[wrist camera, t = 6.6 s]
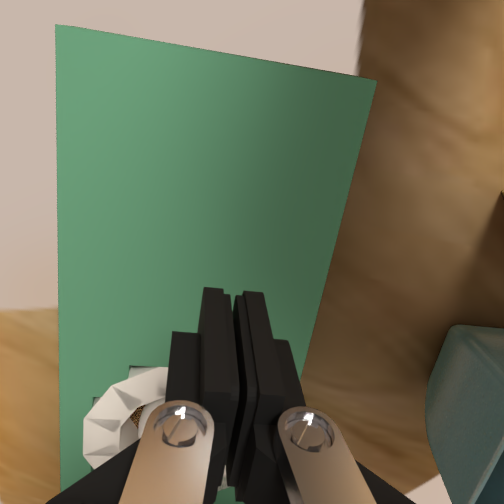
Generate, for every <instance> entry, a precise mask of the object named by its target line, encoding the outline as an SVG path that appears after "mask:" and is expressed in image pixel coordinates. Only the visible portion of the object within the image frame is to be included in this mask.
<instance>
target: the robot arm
mask: <svg viewBox="0 0 504 504" xmlns="http://www.w3.org/2000/svg"><path fill="white" fill-rule="evenodd" d="M225 465H226V481H227V486H228V487H235V502H244V503H245V504H416V503H414V502H413V501H411V500H410V499H408V498H407V497H406V496H404V495H403V494H402V493H400V492H399V491H398V490H396V489H395V488H393V487H392V486H391V485H389V484H388V483H386V482H385V481H384V480H382V479H381V478H380V477H378V476H377V475H375V474H374V473H373V472H371V471H370V470H368V469H367V468H366V467H364V466H363V465H361V464H360V463H359V462H357V461H356V460H355V459H354V458H353V456H352V454H351V452H350V450H349V448H348V446H347V444H346V442H345V440H344V438H343V436H342V434H341V432H340V430H339V428H338V427H337V425H336V424H335V422H334V421H333V420H332V419H331V418H330V417H329V416H327V415H326V414H325V413H323V412H321V411H319V410H317V409H314V408H310V407H306V404H305V400H304V396H303V393H302V389H301V385H300V381H299V377H298V374H297V370H296V366H295V362H294V358H293V355H292V351H291V347H290V344H289V341H288V340H283V339H273V334H272V330H271V325H270V320H269V316H268V311H267V307H266V302H265V297H264V294H263V292H255V291H243V293H242V295H236V296H235V300H234V305H233V311H232V304H231V295H230V294H224V290H223V288H212V287H204V288H203V294H202V301H201V309H200V316H199V323H198V330H197V333H191V332H178V331H172V337H171V346H170V356H169V365H168V374H167V384H166V394H165V403H164V404H161V405H159V406H158V407H157V408H155V409H154V410H153V411H152V412H151V414H150V415H149V417H148V419H147V421H146V424H145V427H144V430H143V433H142V436H141V438H140V439H138V440H137V441H135V442H134V443H133V444H131V445H130V446H128V447H127V448H125V449H124V450H122V451H121V452H119V453H118V454H116V455H115V456H114V457H112V458H111V459H109V460H108V461H106V462H105V463H103V464H102V465H100V466H99V467H97V468H96V469H95V470H93V471H92V472H90V473H89V474H87V475H86V476H84V477H83V478H81V479H80V480H78V481H77V482H76V483H74V484H73V485H71V486H70V487H68V488H67V489H65V490H64V491H62V492H61V493H59V494H58V495H57V496H55V497H54V498H52V499H51V500H49V501H48V502H47V503H46V504H213V503H214V502H215V501H216V496H217V491H218V487H219V486H221V484H222V479H223V474H224V469H225Z"/></svg>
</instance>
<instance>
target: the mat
mask: <svg viewBox="0 0 504 504" xmlns="http://www.w3.org/2000/svg"><path fill="white" fill-rule="evenodd" d="M55 37H56V39H55V40H56V124H57V125H56V130H57V217H58V218H57V219H58V308H59V397H60V486H61V492H62V491H64V490H65V489H67V488H68V487H70V486H71V485H73V484H74V483H76V482H77V481H78V480H80V479H81V478H83V477H84V476H86V475H87V474H89V473H90V472H92V471H93V470H95V469H96V468H97V467H99V466H100V465H102V464H103V463H105V462H106V461H108V460H109V459H111V458H112V457H114V456H115V455H116V454H118V453H119V452H121V451H122V450H124V449H125V448H127V447H128V446H130V445H131V444H133V443H134V442H135V441H137V440H138V439H139V436H138V428H137V427H136V425H135V424H134V423H133V421H132V420H131V418H130V415H131V414H132V413H133V412H134V411H135V410H136V409H137V407H140V406H142V405H145V404H148V403H150V402H153V401H156V400H158V399H161V398H163V397H165V394H166V384H167V374H168V365H169V356H170V346H171V337H172V331H178V332H191V333H197V330H198V323H199V316H200V309H201V301H202V294H203V288H204V287H212V288H223V290H224V294H230V295H231V304H232V311H233V305H234V300H235V296H236V295H242V293H243V291H255V292H263V294H264V297H265V302H266V307H267V311H268V316H269V320H270V325H271V330H272V334H273V339H283V340H288V341H289V344H290V347H291V351H292V355H293V358H294V362H295V366H296V370H297V374H298V377H299V381H300V379H301V375H302V371H303V367H304V364H305V360H306V356H307V352H308V348H309V344H310V340H311V336H312V333H313V329H314V325H315V321H316V317H317V313H318V309H319V305H320V302H321V298H322V294H323V290H324V286H325V282H326V278H327V274H328V271H329V267H330V263H331V259H332V255H333V251H334V247H335V243H336V240H337V236H338V232H339V228H340V224H341V220H342V216H343V212H344V209H345V205H346V201H347V197H348V193H349V189H350V185H351V181H352V178H353V174H354V170H355V166H356V162H357V158H358V154H359V150H360V147H361V143H362V139H363V135H364V131H365V127H366V123H367V119H368V115H369V112H370V108H371V104H372V100H373V96H374V92H375V88H376V84H377V81H376V80H372V79H367V78H363V77H358V76H353V75H348V74H342V73H336V72H331V71H325V70H318V69H313V68H307V67H302V66H296V65H290V64H285V63H279V62H274V61H268V60H262V59H257V58H250V57H245V56H240V55H234V54H228V53H222V52H217V51H211V50H205V49H200V48H194V47H188V46H182V45H177V44H171V43H165V42H160V41H154V40H148V39H143V38H137V37H131V36H125V35H120V34H114V33H109V32H103V31H97V30H91V29H86V28H80V27H74V26H65V25H57V24H56V25H55ZM213 504H245V503H244V502H235V487H228V486H227V481H226V465H225V469H224V474H223V479H222V484H221V486H219V487H218V491H217V496H216V501H215V502H214V503H213Z"/></svg>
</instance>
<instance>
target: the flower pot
mask: <svg viewBox="0 0 504 504" xmlns="http://www.w3.org/2000/svg"><path fill="white" fill-rule="evenodd" d="M425 424H426V431H427V437H428V441H429V445H430V448H431V451H432V454H433V456H434V459H435V462H436V464H437V467H438V470H439V472H440V474H441V477H442V480H443V482H444V485H445V487H446V489H447V492H448V495H449V497H450V500H451V502H452V504H504V328H492V327H480V326H471V325H454V326H452V327H451V328H450V329H449V331H448V333H447V336H446V338H445V341H444V343H443V346H442V348H441V351H440V354H439V356H438V359H437V361H436V363H435V366H434V368H433V371H432V373H431V375H430V378H429V380H428V384H427V391H426V400H425Z"/></svg>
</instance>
